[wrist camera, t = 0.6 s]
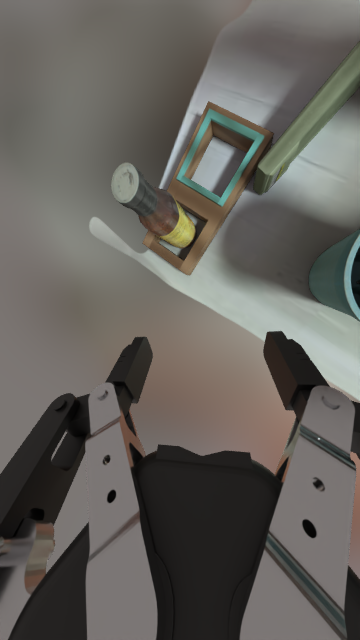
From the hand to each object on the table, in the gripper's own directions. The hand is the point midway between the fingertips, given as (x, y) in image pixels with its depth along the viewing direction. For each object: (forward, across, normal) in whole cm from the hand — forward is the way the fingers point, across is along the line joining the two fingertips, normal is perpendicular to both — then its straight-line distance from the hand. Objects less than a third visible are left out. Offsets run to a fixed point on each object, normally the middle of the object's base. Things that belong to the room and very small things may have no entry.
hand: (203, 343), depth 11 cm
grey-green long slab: (+34, -20, -16) cm, 43 cm away
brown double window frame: (+34, 0, -8) cm, 35 cm away
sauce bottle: (+33, +4, -3) cm, 33 cm away
